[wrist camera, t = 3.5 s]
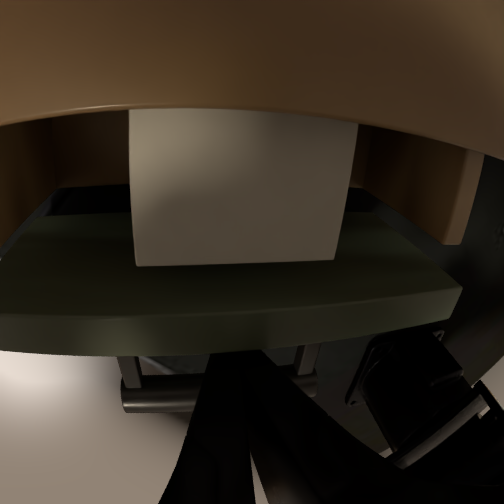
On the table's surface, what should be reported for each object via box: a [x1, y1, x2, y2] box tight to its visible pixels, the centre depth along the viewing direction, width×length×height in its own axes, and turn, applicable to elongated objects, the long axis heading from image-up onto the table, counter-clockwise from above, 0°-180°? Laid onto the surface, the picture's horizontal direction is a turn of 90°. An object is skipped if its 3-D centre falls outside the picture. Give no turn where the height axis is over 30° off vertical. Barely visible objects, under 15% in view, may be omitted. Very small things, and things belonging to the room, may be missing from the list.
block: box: [129, 108, 359, 266], centre depth 7 cm, size 4×4×4 cm
